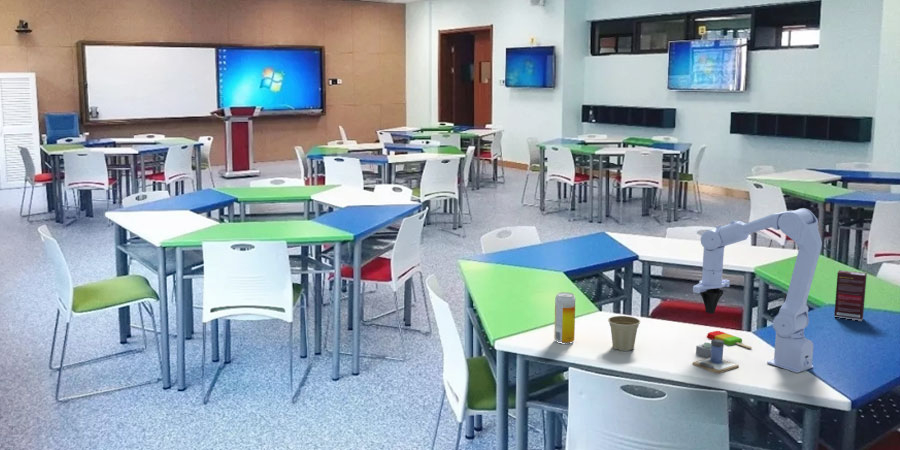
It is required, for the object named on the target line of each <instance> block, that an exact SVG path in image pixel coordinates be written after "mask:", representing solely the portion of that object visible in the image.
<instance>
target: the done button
mask: <svg viewBox="0 0 900 450" xmlns="http://www.w3.org/2000/svg"><path fill="white" fill-rule="evenodd" d="M703 344H704V347H705V348H708V349H709V348H711V342H704V343H703Z"/></svg>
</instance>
